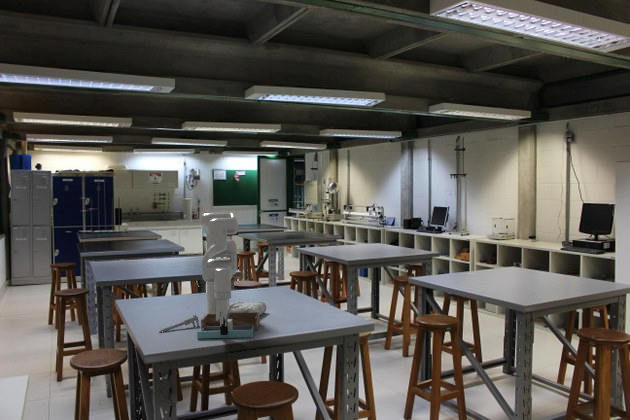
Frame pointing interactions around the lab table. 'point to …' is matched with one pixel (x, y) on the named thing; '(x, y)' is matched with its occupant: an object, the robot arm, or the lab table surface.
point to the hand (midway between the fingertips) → (224, 334)
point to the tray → (236, 332)
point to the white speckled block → (230, 324)
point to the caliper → (183, 323)
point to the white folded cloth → (248, 307)
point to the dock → (233, 319)
